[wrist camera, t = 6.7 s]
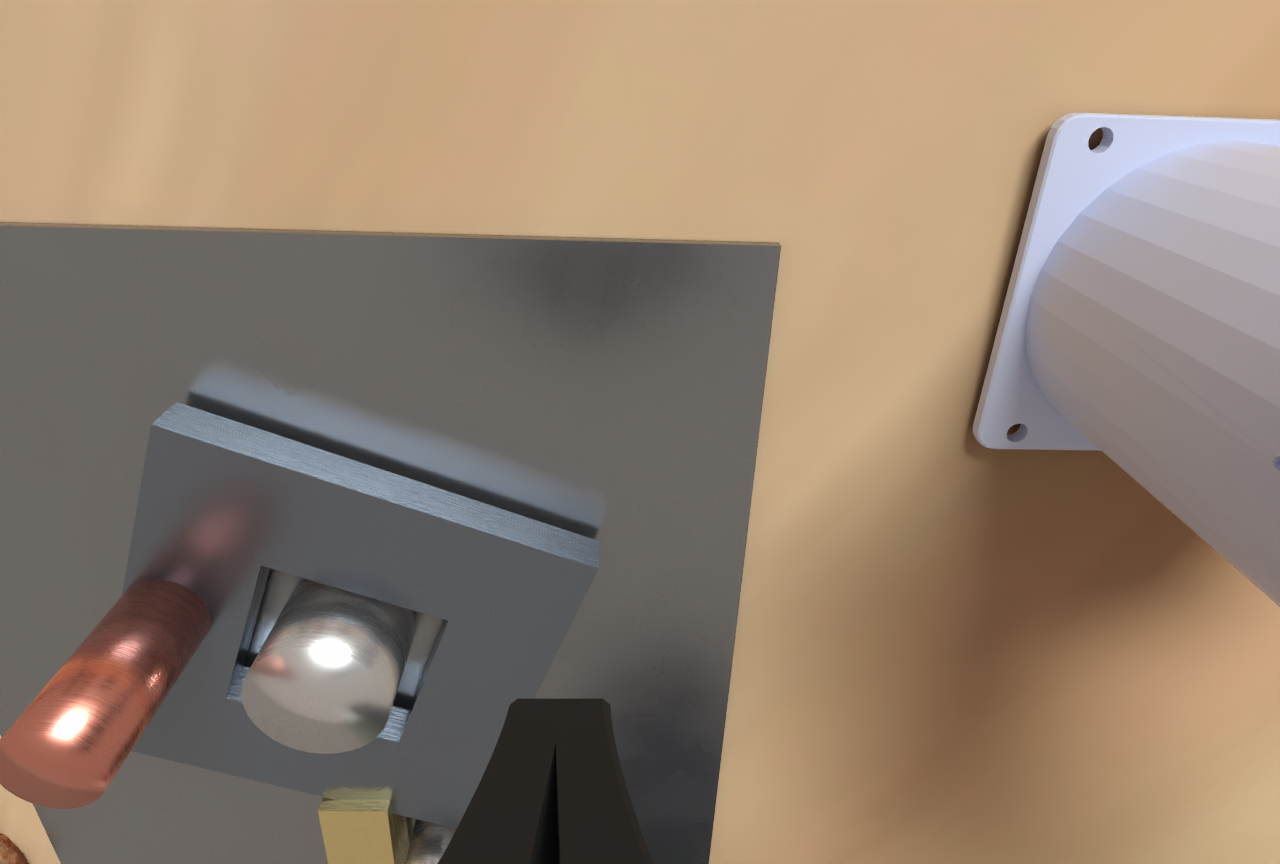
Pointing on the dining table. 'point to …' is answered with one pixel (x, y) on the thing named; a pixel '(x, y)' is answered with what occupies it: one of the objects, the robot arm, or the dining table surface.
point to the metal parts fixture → (228, 608)
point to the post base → (401, 444)
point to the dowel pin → (428, 842)
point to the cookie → (10, 852)
